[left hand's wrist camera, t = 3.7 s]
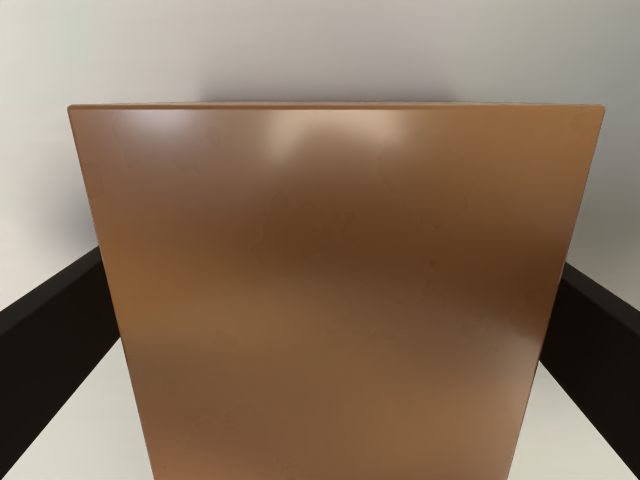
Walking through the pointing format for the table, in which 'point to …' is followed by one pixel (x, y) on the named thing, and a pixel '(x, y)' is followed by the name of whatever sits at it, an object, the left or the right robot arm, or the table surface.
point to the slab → (333, 278)
